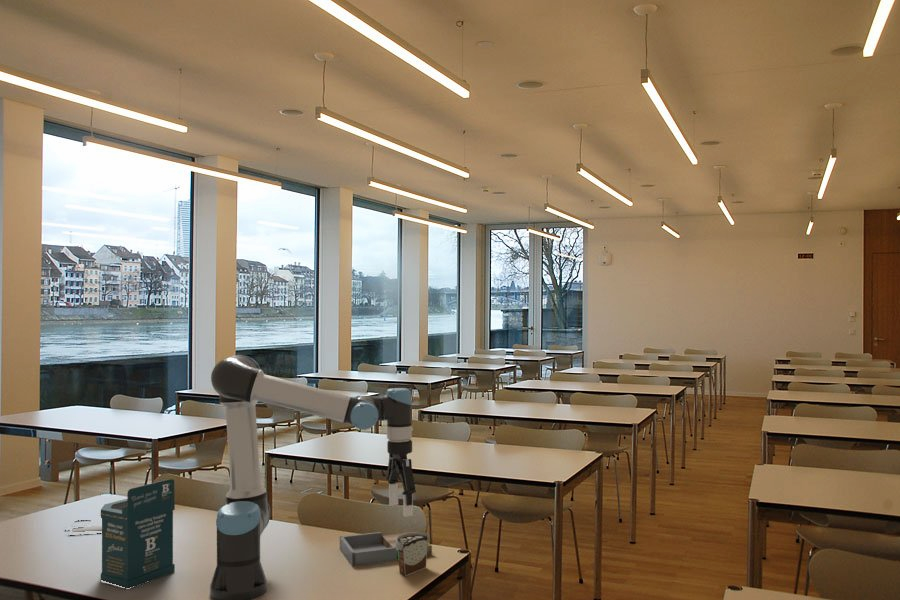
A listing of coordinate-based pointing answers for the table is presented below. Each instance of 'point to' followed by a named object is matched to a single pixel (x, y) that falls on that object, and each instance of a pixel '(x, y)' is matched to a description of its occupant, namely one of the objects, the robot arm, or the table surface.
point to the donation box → (138, 535)
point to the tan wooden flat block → (391, 541)
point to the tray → (366, 549)
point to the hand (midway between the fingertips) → (400, 510)
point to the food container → (412, 552)
